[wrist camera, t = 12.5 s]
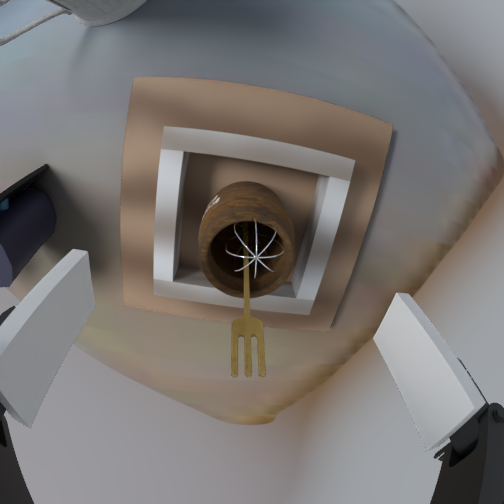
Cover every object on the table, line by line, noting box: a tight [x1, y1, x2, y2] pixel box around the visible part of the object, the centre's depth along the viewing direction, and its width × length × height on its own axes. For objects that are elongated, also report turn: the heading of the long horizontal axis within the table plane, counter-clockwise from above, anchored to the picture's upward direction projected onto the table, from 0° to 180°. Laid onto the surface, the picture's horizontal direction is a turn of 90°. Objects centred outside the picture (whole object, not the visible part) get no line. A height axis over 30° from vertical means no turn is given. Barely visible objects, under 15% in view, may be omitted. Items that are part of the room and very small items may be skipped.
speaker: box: [0, 164, 56, 287], centre depth 16 cm, size 8×6×10 cm
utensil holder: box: [199, 181, 295, 377], centre depth 15 cm, size 6×6×12 cm
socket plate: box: [120, 77, 393, 332], centre depth 20 cm, size 20×20×4 cm
